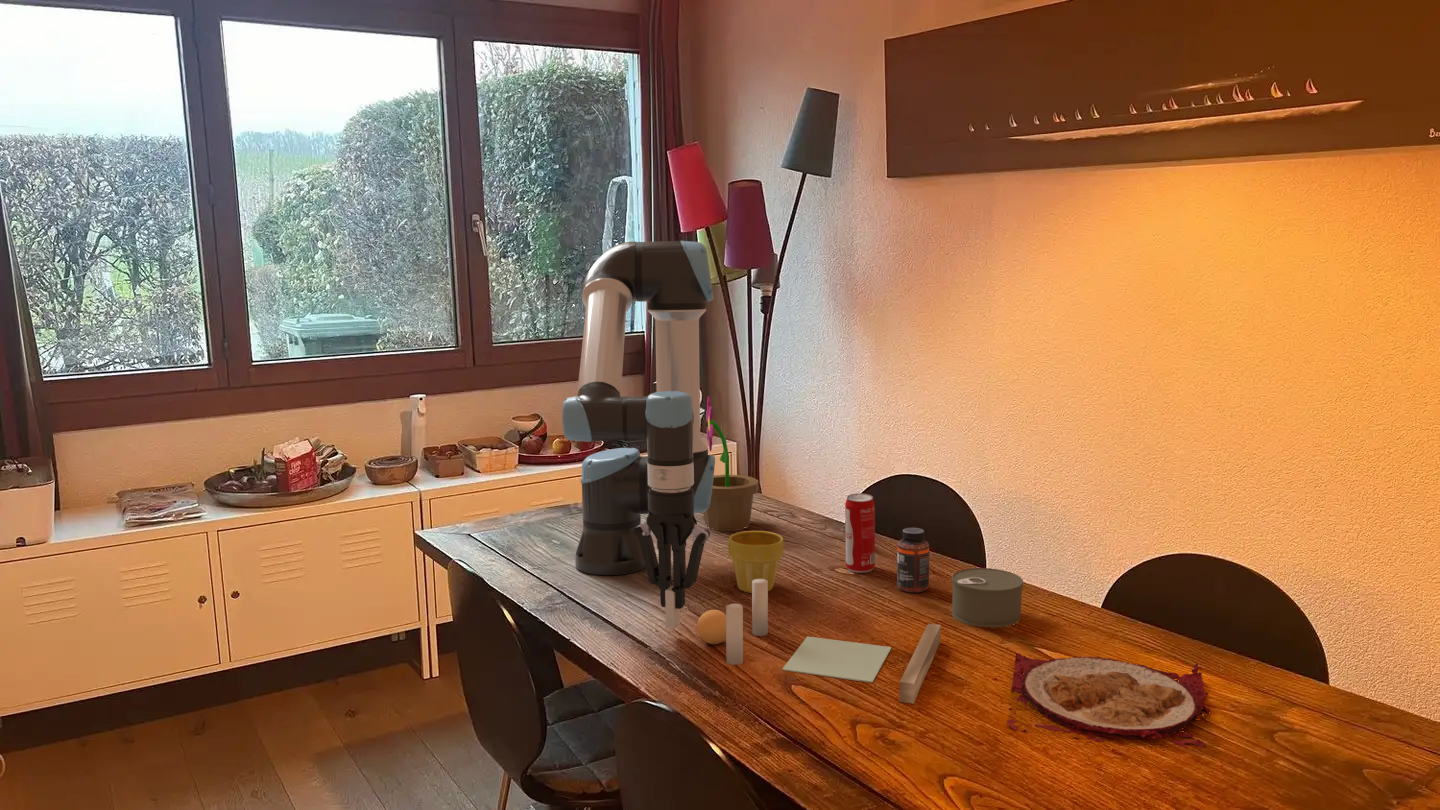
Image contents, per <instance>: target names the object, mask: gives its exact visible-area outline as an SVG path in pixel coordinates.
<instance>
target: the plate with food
mask: <svg viewBox="0 0 1440 810" xmlns="http://www.w3.org/2000/svg"><path fill="white" fill-rule="evenodd" d="M1014 659H1015V660H1014V668H1013V670H1014V671H1013V677H1012V684H1011V685H1012V686H1011V693H1012V692H1015V693H1019V694H1021V695H1020V696H1018V697H1017V698H1016V699H1015V701H1016V703H1018V701H1019V702H1021V703H1023V705H1024V706H1025V707H1026V706H1027V704H1028V703H1029V704H1031V705H1032V706H1030V710H1034V709H1035V708H1036V709H1037V710H1038V712H1040V713H1041V714H1042V715H1043V716H1045V717H1047V718H1046V719H1048V720H1050V721H1051V722H1055V723H1058V724H1060V725H1062V726H1065V727H1067V728H1069V730H1067V729H1063V728H1060V727H1059V726H1056V725H1054V724H1049V723H1041V724H1040V723H1038V722H1037V721H1035V724H1034V727H1036V728H1041V729H1042V728H1043V729H1046V730H1049V731H1052V732H1063V733H1067V734H1070V733H1074V734H1075V735H1083V736H1084V737H1085V738H1086V739H1088V740H1092V741H1095V742H1100V743H1105V739H1109V738H1110V740H1111V741H1112V740H1113V739H1116V738H1117V739H1120V738H1122V739H1131V740H1132V739H1144V740H1145V739H1146V740H1157V739H1161V740H1162V739H1163V738H1164V737H1165V738H1170V736H1171V737H1172V738H1177V737H1180V736H1181V738H1183V737H1185V738H1189V737H1191V738H1193V736H1194V733H1192V732H1187V730H1188V729H1185V728H1184V726H1185V727H1186V726H1187V725H1188V724H1189V723H1190V722H1191V721H1192V720H1195V719H1199V718H1198V717H1200V715H1201V714H1200V713H1203V712H1202V711H1204V710H1205V711H1206V712H1208V713H1209V712H1210V713H1211V708H1210V707H1207V706H1206V705H1205V702H1206V698H1207V696H1209V693H1208V691H1206V690H1205V686H1204V684H1205V683H1204V681H1203V676H1202V675H1203V674H1202V672H1201V671H1200V672H1198V671H1199V668H1198V667H1199V663H1198V662H1197V663H1195V664H1193V667H1194V668H1192V669H1191V673H1188V672H1185V673H1184V674H1182V675H1181V676H1180V675H1179V674H1178V673H1176V672H1167V671H1163V670H1158V669H1155V668H1152V667H1149V666H1146V665H1145V664H1136V663H1129V662H1126V661H1124V660H1119V659H1114V658H1113V659H1112V658H1109V657H1108V658H1105V657H1104V658H1103V657H1102V656H1101V657H1100V656H1087V657H1085V656H1083V657H1082V656H1073V657H1068V658H1066V657H1065V658H1064V657H1062V658H1056V659H1052V658H1050V659H1049V660H1044V659H1038V658H1037V659H1036V658H1031V657H1030V658H1029V657H1027V656H1022V655H1021V653H1015V658H1014ZM1023 673H1024V674H1023ZM1174 679H1177V680H1174ZM1178 680H1179V682H1178ZM1204 697H1205V698H1204ZM1033 706H1034V707H1035V708H1034V707H1033ZM1202 708H1203V709H1204V710H1203V709H1202ZM1008 710H1011V711H1012V710H1013V708H1008ZM1205 711H1204V712H1205ZM1206 712H1205V713H1206ZM1013 714H1014V715H1015V714H1017V713H1016V712H1013ZM1008 716H1009V717H1011V719H1007V722H1006V724H1007V725H1008V727H1010V728H1012V729H1013V730H1015V731H1016V732H1017V731H1018V729H1019V726H1018V725H1013V724H1016V723H1018V721H1015V717H1014V716H1012V715H1010V714H1008ZM1194 718H1195V719H1194ZM1188 722H1189V723H1188ZM1191 725H1192V726H1193V725H1194V724H1193V723H1192V724H1191ZM1020 727H1023V726H1022V724H1020ZM1182 728H1184V729H1182ZM1192 728H1194V726H1193V727H1191V729H1192ZM1180 729H1182V731H1184V732H1181V730H1180ZM1177 731H1178V732H1177ZM1021 732H1025V733H1026V732H1028V730H1027V728H1025V729H1022V730H1021ZM1175 732H1176V733H1175ZM1173 733H1175V734H1173ZM1177 733H1178V734H1177ZM1170 734H1171V735H1170ZM1097 736H1098V738H1096V737H1097ZM1100 736H1101V737H1100ZM1176 736H1177V737H1176ZM1099 738H1100V739H1099ZM1111 738H1113V739H1111ZM1073 739H1078V740H1080V738H1077V737H1075V736H1074V737H1073ZM1200 740H1201V739H1199V738H1197V739H1196V740H1188V741H1187V740H1175V741H1174V742H1173V743H1172V745H1174V746H1181V747H1182V748H1184V749H1187V750H1188V749H1190V747H1189V746H1187V745H1185V744H1193V745H1195V747H1196V748H1197V747H1202V748H1203V749H1206V748H1207V746H1206V744H1205V743H1204V741H1202V740H1201V741H1200ZM1134 743H1135V741H1134ZM1151 745H1152V746H1155V744H1154V743H1151ZM1159 746H1161V747H1164V746H1165V744H1163V743H1159ZM1154 750H1157V748H1156V747H1154Z"/></svg>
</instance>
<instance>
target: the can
mask: <svg viewBox="0 0 1440 810" xmlns="http://www.w3.org/2000/svg"><path fill="white" fill-rule="evenodd" d="M951 582H952V599H951V600H952V607H951V608H952V609H951V615H952V617H953V619H955V621H957V622H959V621H960V623H961V622H962V624H965V625H967V624H968V625H967V626H970V625H971V627H975V626H978V627H977V628H981V627H992V628H991V629H995V628H994V627H1005V628H1007V627H1006V626H1010V625H1013V624H1016V623H1017V622H1019V621H1020V622H1021V620H1020V619H1022V615H1021V613H1022V595H1023V586H1024V580H1023V578H1022V577H1021V576H1019V575H1017V574H1016V573H1013V572H1011V571H1007V570H1003V569H998V568H988V567H973V568H970V567H969V568H965V569H961V570H958V571H956V572H954V573H953V574H952V576H951ZM1020 622H1019V623H1020ZM1016 625H1017V624H1016ZM1010 627H1011V626H1010Z"/></svg>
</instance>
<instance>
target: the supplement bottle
mask: <svg viewBox="0 0 1440 810" xmlns="http://www.w3.org/2000/svg"><path fill="white" fill-rule="evenodd" d="M896 550H897V553H896V554H897V555H896V557H897V558H896V568H897V569H896V582H897V583H896V586H897V589H899V590H900V591H903V592H906V593H914V594H915V593H922V592H925V591H927V590H928V589H929V587H930V544H929V542H928V541H927V540H925V530H924V529H923V528H919V527H906V528H904V529H902V538H901V539H900V540H899V541H898V542H897V549H896Z"/></svg>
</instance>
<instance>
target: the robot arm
mask: <svg viewBox="0 0 1440 810" xmlns="http://www.w3.org/2000/svg"><path fill="white" fill-rule="evenodd" d="M709 263H710V262H709V258H708V250H707V247H706V246H705V244H703V243H702V242H699V241H690V240H689V241H688V240H683V239H682V240H674V241H672V240H671V241H665V240H664V241H627V242H621V243H620V244H617V245H615V246H613V247H611V248H610V249H608V250H606V251H605V252H604V253H602V255H601V256H600V257H598V259H596V261H595V262H594V263H593V265H592V266H591V267H590V269H589V270H588V272H587V273H586V276H585V278H584V281H583V285H582V290H581V291H582V293H581V300H582V303H583V306H584V307H585V313H584V314H585V315H584V324H583V325H584V326H583V334H582V345H581V353H580V355H581V356H580V364H579V365H580V366H579V372H578V373H579V374H578V384H577V395H574V396H571V397H569V396H568V397H566V398H564V400H563V403H562V409H561V410H562V411H561V412H562V413H561V423H562V431H563V435H564V437H565V439H567V440H568V441H572V442H573V441H576V442H588V443H590V442H606V441H607V442H608V441H609V442H610V441H611V442H613V441H628V442H629V441H630V442H631V441H633V442H634V441H637V442H638V441H639V442H640V441H646V446H647V447H646V449H647V453H646V454H647V456H643V455H642V456H641V453H640V451H639V450H640V449H638V448H636V447H620V448H619V447H618V448H611V449H606V450H601V451H598V452H595V453H592V454H590V455H588V456H586V458H584V460H583V461H582V463H581V478H580V483H581V497H582V498H581V499H582V530H581V534H580V538H579V541H578V545H577V548H576V552H575V556H574V557H575V568H576V569H577V570H579V571H580V572H582V573H583V572H584V573H585V574H590V575H597V576H617V575H618V576H619V575H628V574H632V573H636V572H639V571H642V570H645V571H646V574H647V578H648V582H649V584H650V585H656V586H657V587H658V588H659V593H660V594H659V595H660V597H659V598H660V606H661V607H662V608H665V629H668V630H675V629H676V628H677V627H679V625H681V610H682V609H683V608H684V607H685V605H686V589H690V588H691V587H692V586H694V585H695V584H696V582H697V578H698V574H699V569H700V565H701V561H702V555H703V551H704V548H705V543H706V542H707V540H709V537H710V536H711V532H710V530H708V529H705V530H704V529H703V528H701V527H700V526H699V525H698V521H697V519H696V517H695V514H701V513H704V512H705V511H706V510H707V509H708V508H709V506H710V501H711V494H712V487H713V478H714V475H715V465H716V456H715V455H713V454H710V453H709V445H707V444H706V443H705V442H704V441H703V440H702V439H701V396H700V395H701V393H700V391H701V389H700V388H701V386H700V382H701V381H700V380H701V379H700V318H702V317H701V316H703V315H704V314H705V312H706V311H707V302H708V303H709V302H711V301H713V300H714V292H713V283H712V279H711V278H712V277H711V269H710V264H709ZM633 302H637V303H638V302H645V303H646V302H647V303H646V304H647V307H646V308H647V312H648V314H650V315H651V316H652V317H653V318H654V320H655V321H654V323H655V325H654V326H655V327H654V328H655V369H656V370H655V371H656V373H655V375H656V376H655V377H656V381H655V382H656V384H655V385H656V391H655V392H653V393H650V394H649V395H647V396H645V395H643V396H640V395H639V396H622V385H623V383H622V381H623V370H624V369H623V368H624V367H623V366H624V352H625V351H624V350H625V348H624V347H625V338H626V337H625V335H626V334H625V333H626V322H627V321H626V320H627V318H626V317H627V311H628V310H629V309H630V308H631V306H632V303H633ZM641 515H647V516H646V519H645V521H646V522H643V523H641V520H642V519H641V517H642V516H641ZM651 533H652V534H653V535H654V537H655V539H656V548H657V550H658V553H657V552H656V548H655V545H654V539H653V537H652V534H651ZM691 534H692V540H693V543H692V545H691V550H690V553H689V558H688V563H687V566H686V547H687V540H688V538H689V537H690V536H691ZM657 554H658V556H657ZM672 566H673V567H672ZM672 572H673V573H672ZM672 574H673V575H672ZM672 576H673V577H672ZM672 578H673V579H672ZM671 584H673V585H671Z"/></svg>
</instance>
